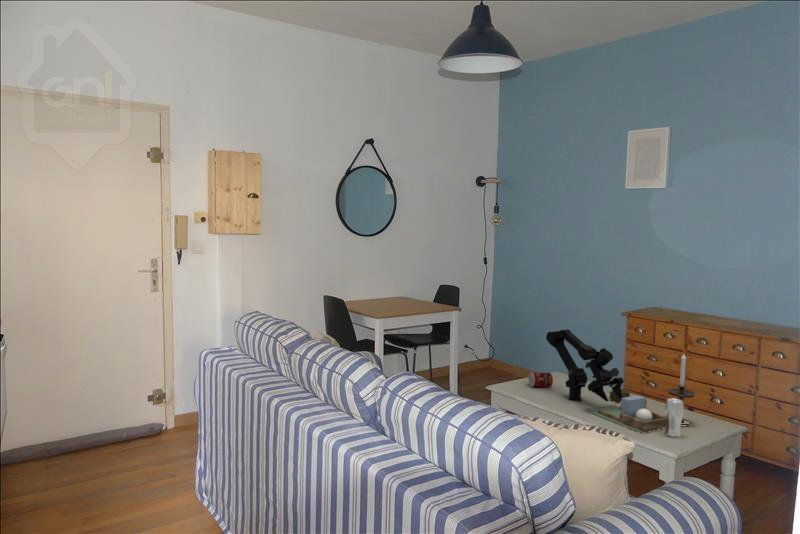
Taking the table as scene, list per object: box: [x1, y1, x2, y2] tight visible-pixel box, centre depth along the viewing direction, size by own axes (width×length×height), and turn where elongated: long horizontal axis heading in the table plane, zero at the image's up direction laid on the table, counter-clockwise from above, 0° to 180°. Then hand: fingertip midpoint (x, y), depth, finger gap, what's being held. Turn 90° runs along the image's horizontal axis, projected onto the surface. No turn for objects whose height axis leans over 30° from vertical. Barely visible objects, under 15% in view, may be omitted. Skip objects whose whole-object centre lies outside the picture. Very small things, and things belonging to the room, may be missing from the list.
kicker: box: [620, 395, 647, 418], centre depth 268 cm, size 4×11×10 cm, turn 117°
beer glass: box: [664, 397, 685, 437], centre depth 251 cm, size 7×7×15 cm
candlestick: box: [667, 347, 696, 425], centre depth 266 cm, size 11×11×35 cm
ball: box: [635, 408, 652, 421], centre depth 262 cm, size 7×7×7 cm
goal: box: [587, 405, 667, 434], centre depth 270 cm, size 32×19×4 cm, turn 27°
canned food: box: [528, 372, 554, 388], centre depth 321 cm, size 8×8×11 cm
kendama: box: [608, 388, 648, 407], centre depth 296 cm, size 6×10×20 cm
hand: (614, 399), depth 277 cm, fingers open, 9 cm apart
